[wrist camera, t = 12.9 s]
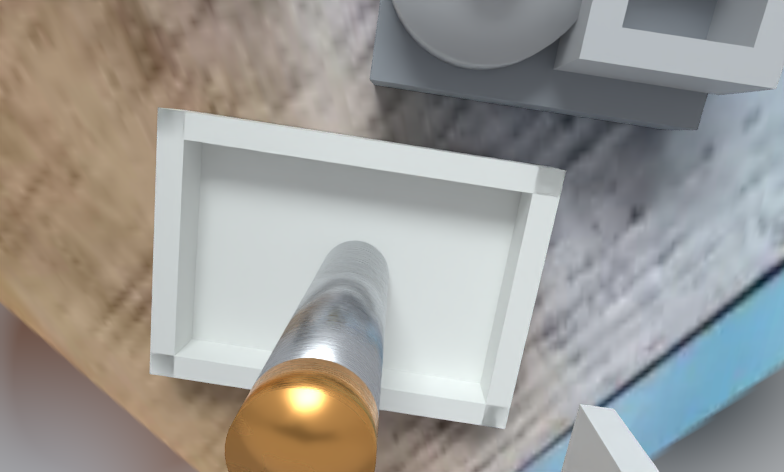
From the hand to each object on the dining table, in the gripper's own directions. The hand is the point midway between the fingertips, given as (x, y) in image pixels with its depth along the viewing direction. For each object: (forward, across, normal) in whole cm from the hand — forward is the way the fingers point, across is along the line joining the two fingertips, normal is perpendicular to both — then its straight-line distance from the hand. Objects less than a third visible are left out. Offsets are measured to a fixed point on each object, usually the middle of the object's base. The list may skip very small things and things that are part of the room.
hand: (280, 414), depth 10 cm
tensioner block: (+14, +7, +13) cm, 20 cm away
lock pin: (+13, 0, -1) cm, 13 cm away
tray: (+14, 0, -1) cm, 14 cm away
